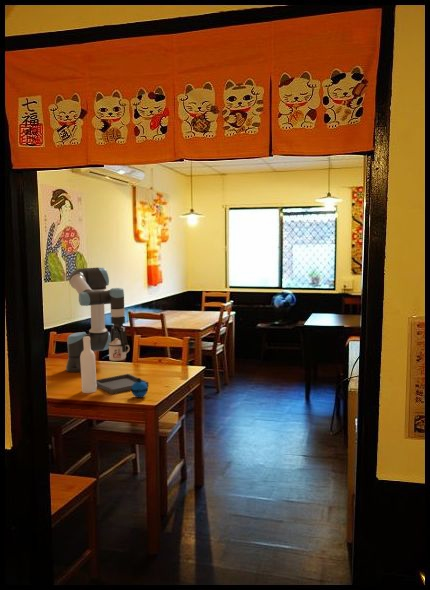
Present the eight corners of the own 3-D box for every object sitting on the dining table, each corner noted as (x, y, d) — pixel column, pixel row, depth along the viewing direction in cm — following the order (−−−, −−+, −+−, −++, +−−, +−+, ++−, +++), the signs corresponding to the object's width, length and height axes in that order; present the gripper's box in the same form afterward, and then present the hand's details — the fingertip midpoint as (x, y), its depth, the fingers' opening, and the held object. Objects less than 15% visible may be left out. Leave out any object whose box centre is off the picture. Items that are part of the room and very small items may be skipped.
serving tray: (93, 384, 284) (93, 380, 284) (128, 377, 297) (128, 373, 297) (112, 394, 265) (111, 389, 265) (148, 386, 278) (148, 382, 278)
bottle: (79, 391, 272) (76, 337, 269) (92, 388, 277) (89, 334, 274) (86, 394, 266) (83, 338, 263) (99, 390, 272) (96, 336, 269)
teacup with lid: (112, 361, 272) (112, 340, 271) (106, 358, 280) (105, 338, 278) (133, 358, 279) (132, 338, 278) (126, 355, 286) (125, 335, 285)
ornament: (150, 395, 262) (149, 376, 261) (144, 400, 254) (143, 380, 253) (135, 394, 264) (134, 375, 263) (128, 399, 256) (127, 380, 255)
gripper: (133, 317, 270) (134, 358, 273) (115, 313, 287) (117, 351, 290) (120, 319, 266) (122, 360, 268) (103, 314, 283) (105, 353, 285)
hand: (119, 356), depth 279 cm, fingers closed on teacup with lid, 9 cm apart
